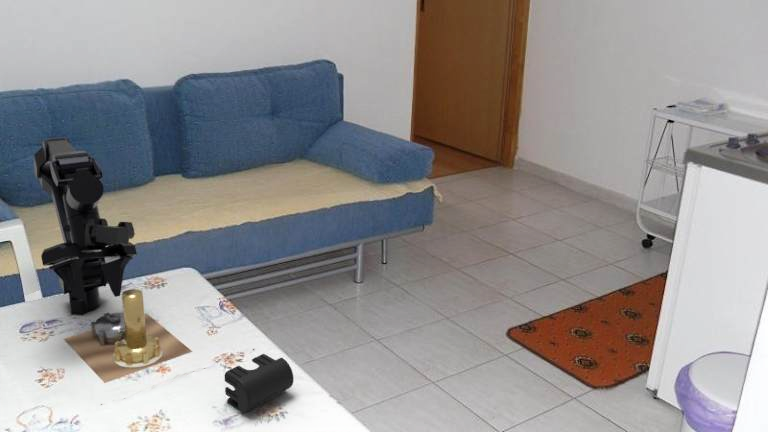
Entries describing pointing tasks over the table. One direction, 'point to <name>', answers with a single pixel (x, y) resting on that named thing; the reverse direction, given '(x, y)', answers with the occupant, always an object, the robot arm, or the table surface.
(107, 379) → the carrier board
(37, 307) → the table surface
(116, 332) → the sun gear
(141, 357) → the gear
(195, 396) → the table surface
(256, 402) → the end cap
